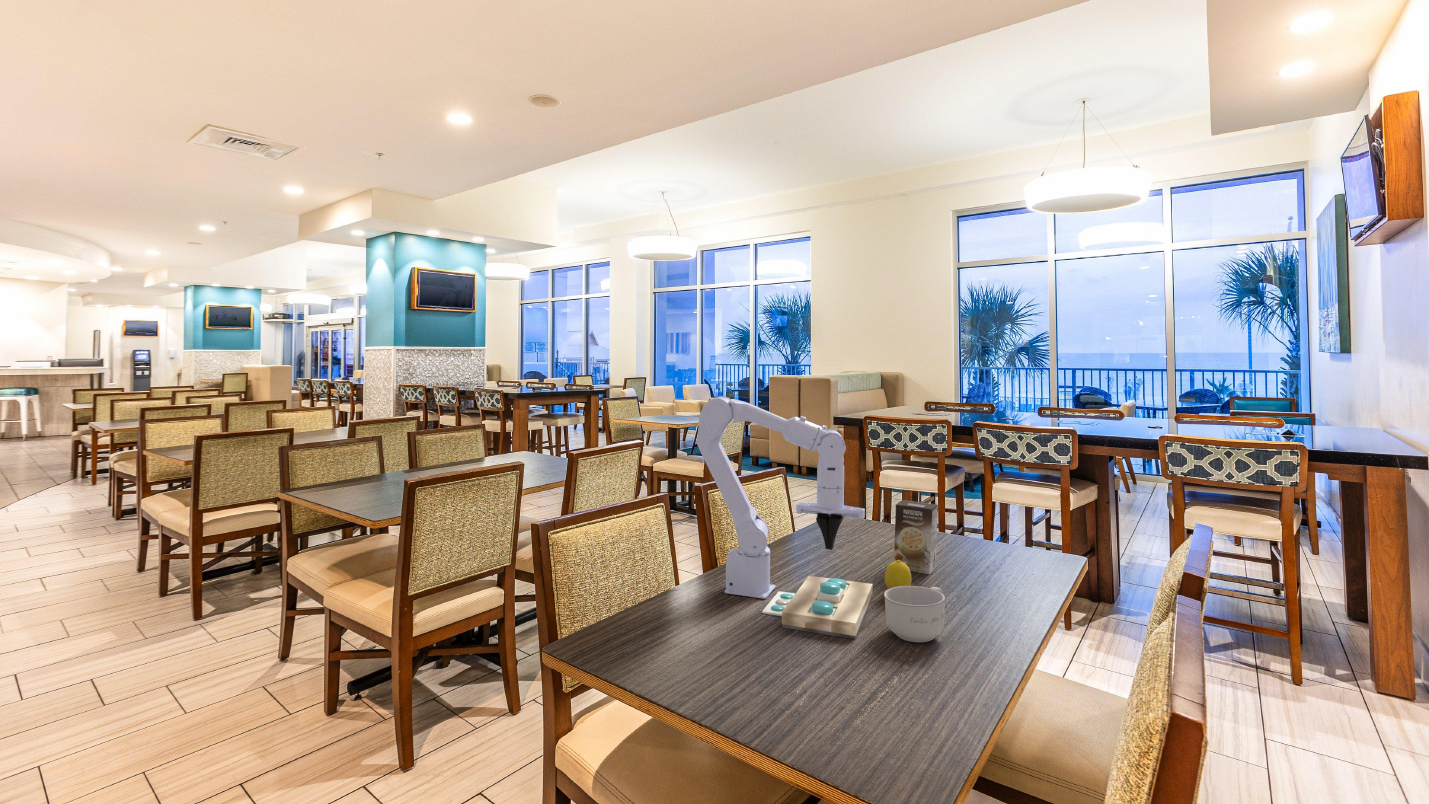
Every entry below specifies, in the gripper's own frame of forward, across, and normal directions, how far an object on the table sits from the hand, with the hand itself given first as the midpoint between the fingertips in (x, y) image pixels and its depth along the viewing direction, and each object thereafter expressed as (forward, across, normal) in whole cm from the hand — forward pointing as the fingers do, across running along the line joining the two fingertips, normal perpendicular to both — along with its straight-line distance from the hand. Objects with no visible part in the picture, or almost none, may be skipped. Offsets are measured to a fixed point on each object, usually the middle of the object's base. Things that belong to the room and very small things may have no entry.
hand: (829, 548), depth 137 cm
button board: (+10, +2, -9) cm, 14 cm away
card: (+10, -8, -9) cm, 16 cm away
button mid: (+8, +2, -9) cm, 12 cm away
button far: (+10, +2, -2) cm, 10 cm away
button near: (+10, +2, -16) cm, 19 cm away
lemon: (+11, +14, +5) cm, 18 cm away
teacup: (+11, +20, -13) cm, 26 cm away
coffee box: (+11, +16, +26) cm, 32 cm away
